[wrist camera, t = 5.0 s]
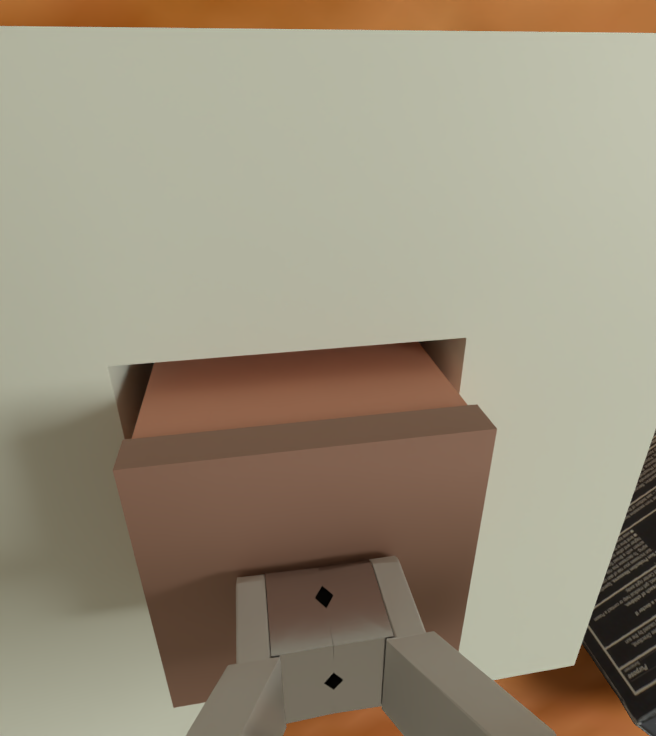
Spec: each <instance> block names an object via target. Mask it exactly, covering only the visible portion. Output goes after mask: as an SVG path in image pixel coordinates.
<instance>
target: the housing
mask: <svg viewBox="0 0 656 736" xmlns="http://www.w3.org/2000/svg"><path fill="white" fill-rule="evenodd" d="M406 342H419V343H420V345H421V346H422V347H423V349H424V350H425V351H426V352H427V354H428V355H429V356H430V358H431V359H432V360H433V361H434V363H435V364H436V365H437V366H438V368H439V369H440V370H441V372H442V373H443V374H444V375H445V377H446V378H447V379H448V380H449V382H450V383H451V384H452V386H453V387H454V388H455V389H456V391H457V392H458V393H459V394H460V396H461V397H462V398H463V400H464V401H465V402H466V403H467V405H476V404H477V405H478V406H479V407H480V408H481V410H482V411H483V412H484V413H485V415H486V416H487V417H488V418H489V419H490V421H491V422H492V423H493V424H494V426H495V427H496V428H497V433H496V438H495V444H494V450H493V456H492V461H491V467H490V473H489V479H488V485H487V490H486V496H485V502H484V508H483V513H482V519H481V525H480V531H479V537H478V542H477V548H476V554H475V560H474V565H473V571H472V577H471V583H470V589H469V594H468V600H467V606H466V612H465V618H464V623H463V629H462V635H461V641H460V646H459V652H460V653H461V654H462V655H463V656H464V657H466V658H467V659H468V660H469V661H470V662H472V663H473V664H474V665H475V666H476V667H478V668H479V669H480V670H481V671H482V672H484V673H485V674H486V675H487V676H488V677H490V678H491V679H492V680H497V679H502V678H508V677H513V676H519V675H524V674H530V673H535V672H541V671H546V670H551V669H557V668H562V667H568V666H573V665H574V664H575V661H576V659H577V656H578V653H579V650H580V647H581V644H582V641H583V638H584V635H585V633H586V630H587V627H588V624H589V621H590V618H591V615H592V612H593V609H594V606H595V604H596V601H597V598H598V595H599V592H600V589H601V586H602V583H603V580H604V578H605V575H606V572H607V569H608V566H609V563H610V560H611V557H612V554H613V551H614V549H615V546H616V543H617V540H618V537H619V534H620V531H621V528H622V525H623V523H624V520H625V517H626V514H627V511H628V508H629V505H630V502H631V499H632V496H633V494H634V491H635V488H636V485H637V482H638V479H639V476H640V473H641V470H642V467H643V465H644V462H645V459H646V456H647V453H648V450H649V447H650V444H651V441H652V439H653V436H654V433H655V430H656V33H594V32H501V31H408V30H314V29H221V28H127V27H34V26H0V736H186V734H187V733H188V731H189V729H190V728H191V726H192V724H193V723H194V721H195V719H196V718H197V716H198V714H199V713H200V711H201V709H202V708H203V706H204V704H205V703H206V702H204V703H199V704H193V705H187V706H181V707H176V708H173V704H172V700H171V696H170V692H169V688H168V685H167V681H166V677H165V673H164V669H163V665H162V661H161V657H160V653H159V649H158V646H157V642H156V638H155V634H154V630H153V626H152V622H151V618H150V614H149V610H148V607H147V603H146V599H145V595H144V591H143V587H142V583H141V579H140V575H139V571H138V568H137V564H136V560H135V556H134V552H133V548H132V544H131V540H130V536H129V532H128V529H127V525H126V521H125V517H124V513H123V509H122V505H121V501H120V497H119V493H118V490H117V486H116V482H115V478H114V474H113V467H114V464H115V461H116V458H117V455H118V452H119V449H120V446H121V443H122V440H126V439H132V435H133V432H134V429H135V425H136V422H137V419H138V415H139V412H140V409H141V405H142V402H143V399H144V395H145V392H146V389H147V385H148V382H149V379H150V375H151V372H152V368H153V365H154V363H156V362H168V361H181V360H193V359H206V358H219V357H231V356H244V355H256V354H269V353H281V352H294V351H306V350H319V349H331V348H344V347H356V346H369V345H381V344H394V343H406Z"/></svg>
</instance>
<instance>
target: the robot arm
mask: <svg viewBox="0 0 656 736" xmlns="http://www.w3.org/2000/svg"><path fill="white" fill-rule="evenodd" d="M265 579H266V583H265ZM378 706H382V710H383V711H384V712H385V713H386V714H387V716H388V717H389V718H390V719H391V720H392V722H393V723H394V724H395V725H396V727H397V728H398V729H399V730H400V731H401V733H402V734H403V735H404V736H556V734H555V732H554V731H553V730H552V729H551V728H549V727H548V726H547V725H546V724H545V723H543V722H542V721H541V720H540V719H539V718H537V717H536V716H535V715H534V714H533V713H531V712H530V711H529V710H528V709H527V708H525V707H524V706H523V705H522V704H521V703H519V702H518V701H517V700H516V699H515V698H513V697H512V696H511V695H510V694H509V693H507V692H506V691H505V690H504V689H503V688H501V687H500V686H499V685H498V684H497V683H496V682H494V681H493V680H492V679H491V678H490V677H488V676H487V675H486V674H485V673H484V672H482V671H481V670H480V669H479V668H478V667H476V666H475V665H474V664H473V663H472V662H470V661H469V660H468V659H467V658H466V657H464V656H463V655H462V654H461V653H460V652H458V651H457V650H456V649H455V648H454V647H452V646H451V645H450V644H449V643H448V642H446V641H445V640H444V639H443V638H442V637H440V636H439V635H438V634H437V633H436V632H434V631H431V632H426V631H425V628H424V626H423V623H422V620H421V618H420V615H419V612H418V610H417V607H416V604H415V602H414V599H413V596H412V594H411V591H410V588H409V586H408V583H407V580H406V578H405V575H404V572H403V570H402V567H401V564H400V562H399V559H398V558H397V557H396V556H388V557H382V558H375V559H370V560H368V559H365V560H358V561H352V562H346V563H339V564H333V565H326V566H320V567H317V568H311V569H302V570H293V571H285V572H276V573H267V574H261V575H253V576H245V577H237V582H236V664H231V665H228V666H227V667H226V669H225V671H224V672H223V674H222V676H221V677H220V679H219V681H218V682H217V684H216V686H215V687H214V689H213V691H212V692H211V694H210V696H209V697H208V699H207V701H206V703H205V704H204V706H203V708H202V709H201V711H200V713H199V714H198V716H197V718H196V719H195V721H194V723H193V724H192V726H191V728H190V729H189V731H188V733H187V734H186V736H283V734H284V732H285V729H286V724H287V723H291V722H296V721H300V720H305V719H310V718H314V717H319V716H324V715H328V714H333V713H339V712H346V711H352V710H359V709H365V708H372V707H378Z"/></svg>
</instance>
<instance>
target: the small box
mask: <svg viewBox="0 0 656 736" xmlns="http://www.w3.org/2000/svg"><path fill="white" fill-rule="evenodd" d="M582 644H583V646H584V647H585V649H586V650H587V652H588V653H589V655H590V656H591V658H592V659H593V661H594V662H595V664H596V665H597V667H598V668H599V670H600V671H601V673H602V674H603V676H604V677H605V679H606V680H607V682H608V683H609V684H610V686H611V687H612V689H613V690H614V692H615V693H616V695H617V696H618V698H619V699H620V701H621V703H622V705H623V706H624V708H625V710H626V711H627V713H628V715H629V716H630V718H631V719H632V721H633V723H634V724H635V725H636V726H638V727H639V728H641V729H642V730H643V731H645V732H646V733H647V734H648V735H650V736H656V430H655V433H654V436H653V439H652V441H651V444H650V447H649V450H648V453H647V456H646V459H645V462H644V465H643V467H642V470H641V473H640V476H639V479H638V482H637V485H636V488H635V491H634V494H633V496H632V499H631V502H630V505H629V508H628V511H627V514H626V517H625V520H624V523H623V525H622V528H621V531H620V534H619V537H618V540H617V543H616V546H615V549H614V551H613V554H612V557H611V560H610V563H609V566H608V569H607V572H606V575H605V578H604V580H603V583H602V586H601V589H600V592H599V595H598V598H597V601H596V604H595V606H594V609H593V612H592V615H591V618H590V621H589V624H588V627H587V630H586V633H585V635H584V638H583V641H582Z"/></svg>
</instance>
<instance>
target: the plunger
mask: <svg viewBox="0 0 656 736" xmlns="http://www.w3.org/2000/svg"><path fill="white" fill-rule="evenodd" d="M496 433H497V428H496V427H495V426H494V424H493V423H492V422H491V421H490V419H489V418H488V417H487V416H486V415H485V413H484V412H483V411H482V410H481V408H480V407H479V406H478V405H477V404H476V405H467V403H466V402H465V401H464V400H463V398H462V397H461V396H460V394H459V393H458V392H457V391H456V389H455V388H454V387H453V386H452V384H451V383H450V382H449V380H448V379H447V378H446V377H445V375H444V374H443V373H442V372H441V370H440V369H439V368H438V366H437V365H436V364H435V363H434V361H433V360H432V359H431V358H430V356H429V355H428V354H427V352H426V351H425V350H424V349H423V347H422V346H421V345H420V343H419V342H406V343H394V344H381V345H369V346H356V347H344V348H331V349H319V350H306V351H294V352H281V353H269V354H256V355H244V356H231V357H219V358H206V359H193V360H181V361H168V362H156V363H154V365H153V368H152V372H151V375H150V379H149V382H148V385H147V389H146V392H145V395H144V399H143V402H142V405H141V409H140V412H139V415H138V419H137V422H136V425H135V429H134V432H133V435H132V439H126V440H122V443H121V446H120V449H119V452H118V455H117V458H116V461H115V464H114V467H113V474H114V478H115V482H116V486H117V490H118V493H119V497H120V501H121V505H122V509H123V513H124V517H125V521H126V525H127V529H128V532H129V536H130V540H131V544H132V548H133V552H134V556H135V560H136V564H137V568H138V571H139V575H140V579H141V583H142V587H143V591H144V595H145V599H146V603H147V607H148V610H149V614H150V618H151V622H152V626H153V630H154V634H155V638H156V642H157V646H158V649H159V653H160V657H161V661H162V665H163V669H164V673H165V677H166V681H167V685H168V688H169V692H170V696H171V700H172V704H173V708H176V707H181V706H187V705H193V704H199V703H204V702H206V701H207V699H208V697H209V696H210V694H211V692H212V691H213V689H214V687H215V686H216V684H217V682H218V681H219V679H220V677H221V676H222V674H223V672H224V671H225V669H226V667H227V666H228V665H231V664H236V582H237V577H245V576H253V575H261V574H267V573H276V572H285V571H293V570H302V569H311V568H317V567H320V566H326V565H333V564H339V563H346V562H352V561H358V560H365V559H368V560H370V559H375V558H382V557H388V556H396V557H397V558H398V559H399V562H400V564H401V567H402V570H403V572H404V575H405V578H406V580H407V583H408V586H409V588H410V591H411V594H412V596H413V599H414V602H415V604H416V607H417V610H418V612H419V615H420V618H421V620H422V623H423V626H424V628H425V631H426V632H431V631H434V632H436V633H437V634H438V635H439V636H440V637H442V638H443V639H444V640H445V641H446V642H448V643H449V644H450V645H451V646H452V647H454V648H455V649H456V650H457V651H458V652H459V646H460V641H461V635H462V629H463V623H464V618H465V612H466V606H467V600H468V594H469V589H470V583H471V577H472V571H473V565H474V560H475V554H476V548H477V542H478V537H479V531H480V525H481V519H482V513H483V508H484V502H485V496H486V490H487V485H488V479H489V473H490V467H491V461H492V456H493V450H494V444H495V438H496ZM265 583H266V579H265Z"/></svg>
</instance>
